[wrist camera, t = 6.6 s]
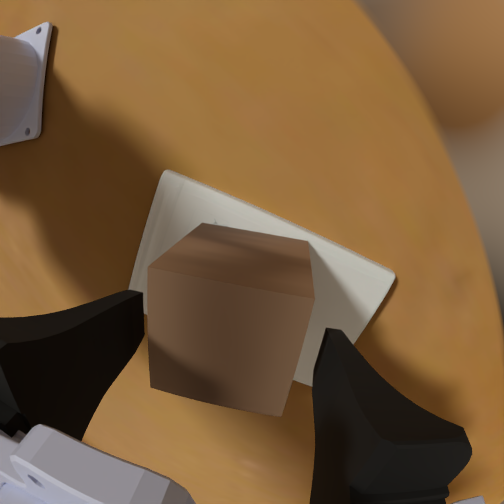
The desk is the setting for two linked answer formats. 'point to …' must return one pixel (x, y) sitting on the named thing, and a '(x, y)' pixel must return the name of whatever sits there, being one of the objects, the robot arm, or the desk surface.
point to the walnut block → (229, 317)
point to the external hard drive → (259, 220)
